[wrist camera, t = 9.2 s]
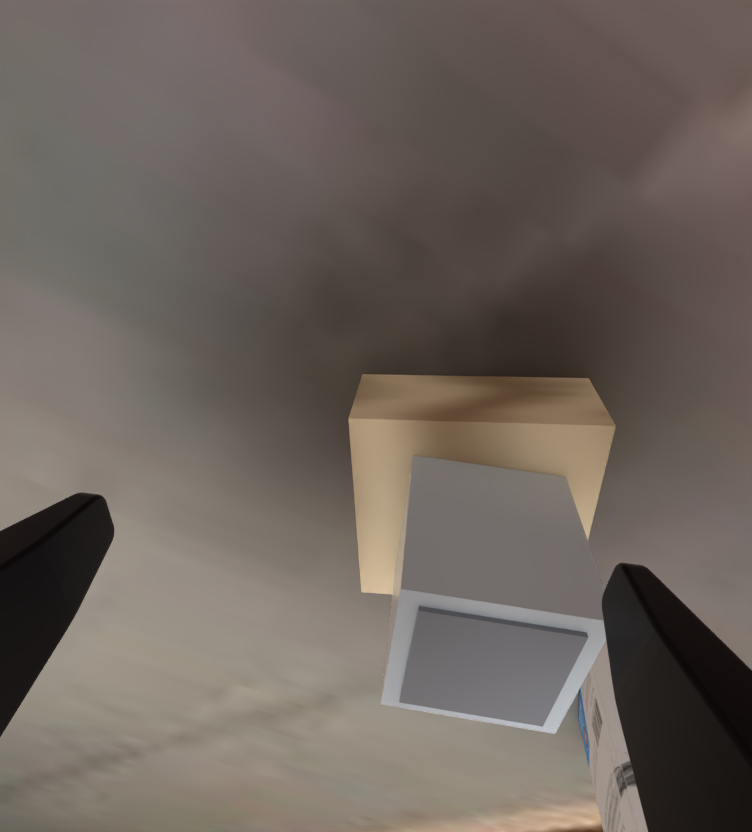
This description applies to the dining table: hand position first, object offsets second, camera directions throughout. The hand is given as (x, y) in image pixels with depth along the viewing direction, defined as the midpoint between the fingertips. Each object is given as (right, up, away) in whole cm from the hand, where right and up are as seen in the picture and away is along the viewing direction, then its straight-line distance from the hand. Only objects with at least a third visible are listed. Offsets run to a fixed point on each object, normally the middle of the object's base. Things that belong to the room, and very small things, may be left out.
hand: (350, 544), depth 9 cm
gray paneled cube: (+4, -2, +11) cm, 12 cm away
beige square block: (+5, 0, +14) cm, 15 cm away
